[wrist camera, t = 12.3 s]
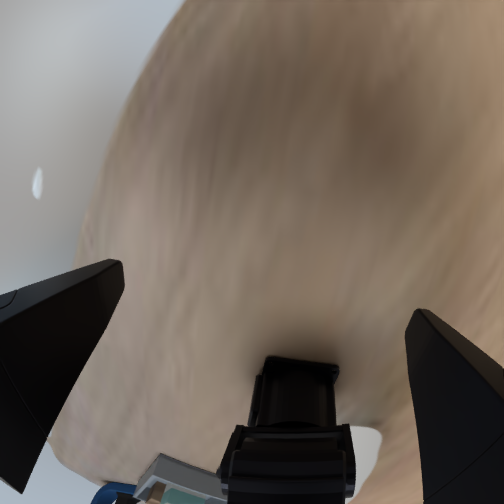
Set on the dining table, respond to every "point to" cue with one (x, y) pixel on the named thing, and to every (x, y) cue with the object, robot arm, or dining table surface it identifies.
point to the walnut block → (156, 493)
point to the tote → (181, 479)
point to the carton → (181, 496)
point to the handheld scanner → (116, 494)
